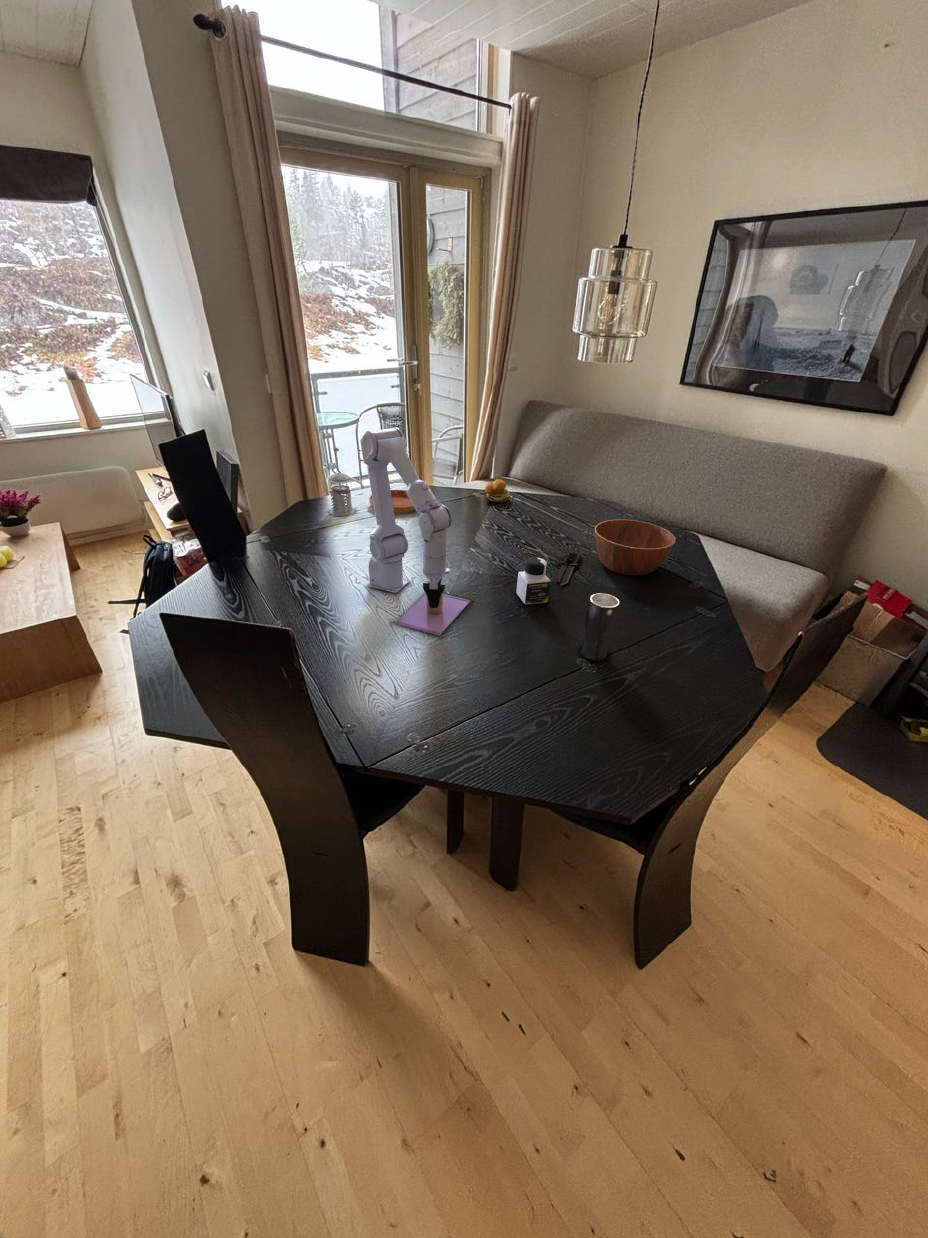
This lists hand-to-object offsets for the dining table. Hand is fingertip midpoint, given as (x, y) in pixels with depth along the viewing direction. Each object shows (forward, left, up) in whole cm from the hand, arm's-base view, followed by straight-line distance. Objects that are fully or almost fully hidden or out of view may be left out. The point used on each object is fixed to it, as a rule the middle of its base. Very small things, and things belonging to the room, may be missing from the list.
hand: (434, 600), depth 134 cm
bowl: (+44, +56, -4) cm, 71 cm away
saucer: (-52, +70, -4) cm, 88 cm away
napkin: (0, 0, -4) cm, 4 cm away
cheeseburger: (-18, +98, 0) cm, 99 cm away
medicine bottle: (+22, +20, -4) cm, 30 cm away
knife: (+27, +43, -4) cm, 51 cm away
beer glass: (+44, 0, -4) cm, 44 cm away
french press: (-67, +53, -4) cm, 86 cm away
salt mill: (0, 0, -3) cm, 3 cm away
